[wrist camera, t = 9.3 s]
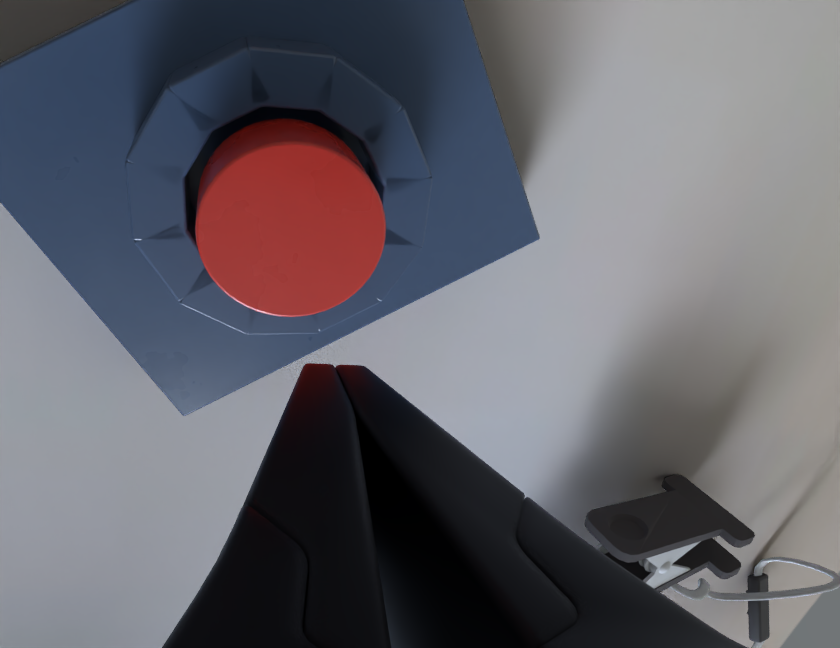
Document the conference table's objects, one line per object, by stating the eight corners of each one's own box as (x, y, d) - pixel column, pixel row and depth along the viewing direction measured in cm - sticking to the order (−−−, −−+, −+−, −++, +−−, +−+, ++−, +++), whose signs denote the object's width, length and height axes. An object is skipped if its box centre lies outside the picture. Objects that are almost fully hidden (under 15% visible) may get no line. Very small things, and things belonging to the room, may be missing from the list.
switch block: (186, 376, 21) (180, 457, 18) (-48, 87, 16) (-121, 126, 12) (513, 213, 21) (567, 264, 18) (396, -132, 16) (442, -151, 12)
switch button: (254, 304, 17) (257, 346, 15) (162, 166, 14) (154, 197, 13) (394, 234, 17) (413, 268, 15) (324, 87, 14) (338, 106, 13)
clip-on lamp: (780, 465, 37) (571, 468, 27) (894, 542, 32) (694, 584, 22) (683, 617, 41) (465, 674, 30) (773, 708, 36) (551, 812, 26)
